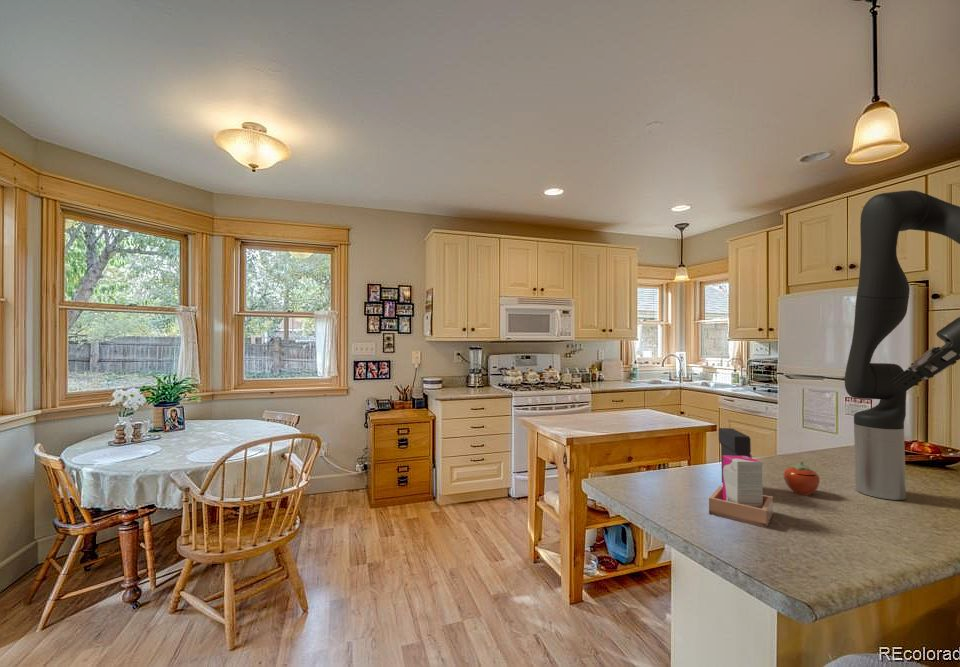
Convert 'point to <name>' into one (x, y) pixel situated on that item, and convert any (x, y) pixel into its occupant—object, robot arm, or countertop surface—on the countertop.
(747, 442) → the calculator
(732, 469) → the supplement box
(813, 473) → the tomato
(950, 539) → the countertop surface
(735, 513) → the dish
